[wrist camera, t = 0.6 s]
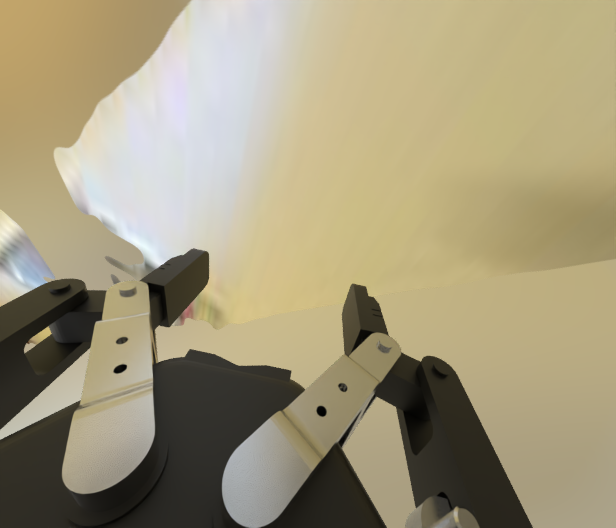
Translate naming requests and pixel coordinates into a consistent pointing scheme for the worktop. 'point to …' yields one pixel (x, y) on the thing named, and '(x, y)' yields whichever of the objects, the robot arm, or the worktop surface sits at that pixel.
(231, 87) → the worktop surface
